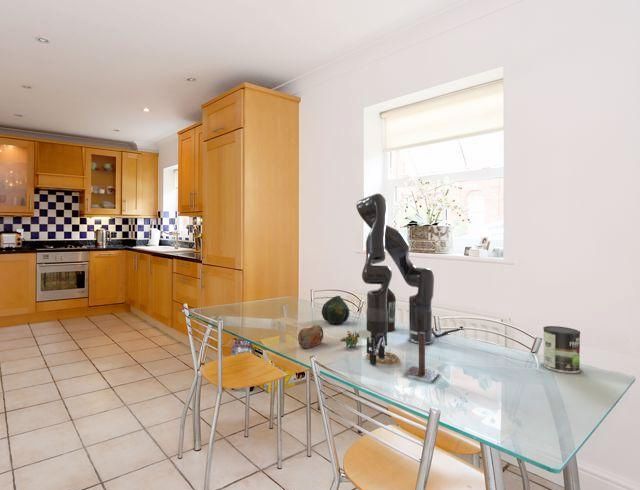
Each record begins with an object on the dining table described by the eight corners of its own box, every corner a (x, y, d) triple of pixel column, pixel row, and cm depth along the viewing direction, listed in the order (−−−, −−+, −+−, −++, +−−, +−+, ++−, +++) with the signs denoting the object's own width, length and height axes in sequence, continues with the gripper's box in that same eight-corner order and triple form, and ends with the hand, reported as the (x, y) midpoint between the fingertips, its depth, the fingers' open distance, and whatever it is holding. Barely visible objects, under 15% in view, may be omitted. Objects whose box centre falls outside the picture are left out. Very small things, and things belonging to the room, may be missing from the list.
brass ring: (373, 354, 159) (373, 348, 159) (403, 360, 152) (403, 354, 152) (361, 362, 150) (361, 356, 150) (392, 369, 143) (392, 363, 143)
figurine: (362, 348, 168) (362, 329, 167) (342, 353, 161) (342, 333, 161) (357, 346, 170) (356, 327, 170) (336, 351, 164) (336, 331, 164)
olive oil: (369, 329, 197) (369, 279, 197) (379, 325, 205) (379, 277, 204) (390, 333, 190) (389, 281, 189) (399, 328, 197) (399, 279, 197)
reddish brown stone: (302, 350, 166) (302, 330, 166) (296, 348, 169) (296, 329, 168) (324, 342, 176) (323, 324, 176) (318, 341, 179) (318, 322, 178)
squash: (317, 315, 207) (336, 294, 205) (316, 310, 221) (334, 290, 220) (338, 333, 205) (357, 312, 203) (335, 327, 219) (354, 307, 218)
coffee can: (585, 370, 139) (586, 330, 139) (571, 375, 134) (571, 334, 134) (551, 361, 148) (552, 324, 148) (537, 366, 143) (537, 328, 143)
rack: (412, 369, 142) (412, 328, 142) (439, 375, 137) (439, 332, 136) (404, 377, 136) (404, 333, 135) (432, 383, 130) (432, 338, 129)
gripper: (374, 313, 155) (374, 354, 155) (359, 320, 144) (359, 364, 144) (393, 316, 150) (393, 358, 150) (379, 323, 139) (380, 368, 140)
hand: (377, 361), depth 147 cm, fingers open, 8 cm apart
